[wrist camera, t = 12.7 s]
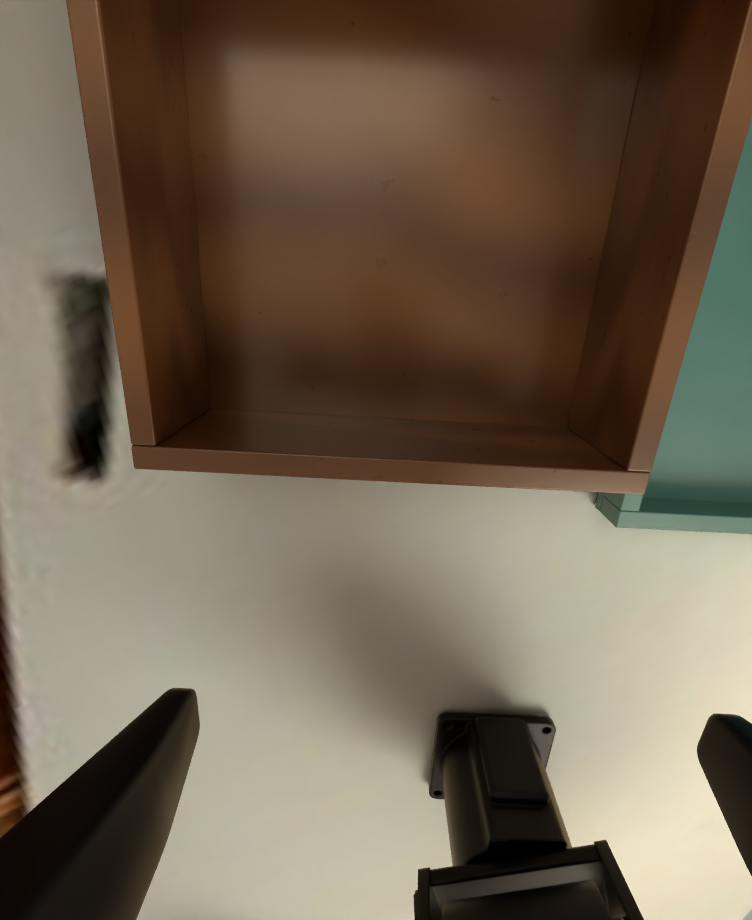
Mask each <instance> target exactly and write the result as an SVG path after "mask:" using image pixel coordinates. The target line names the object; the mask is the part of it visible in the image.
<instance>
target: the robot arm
mask: <svg viewBox="0 0 752 920" xmlns="http://www.w3.org/2000/svg"><path fill="white" fill-rule="evenodd" d="M446 722H447V723H446ZM199 728H200V721H199V713H198V704H197V696H196V692H195V691H194V690H193V689H187V688H172V689H169V690H168V691H166V692H165V693H164V694H163V695H162V696H161V697H159V698H158V699H157V700H156V701H155V702H154V703H153V704H152V705H150V706H149V707H148V708H147V709H146V710H145V711H144V712H142V713H141V714H140V715H139V716H138V717H137V718H136V719H135V720H133V721H132V722H131V723H130V724H129V725H128V726H127V727H125V728H124V729H123V730H122V731H121V732H120V733H119V734H118V735H116V736H115V737H114V738H113V739H112V740H111V741H110V742H109V743H107V744H106V745H105V746H104V747H103V748H102V749H101V750H99V751H98V752H97V753H96V754H95V755H94V756H93V757H92V758H90V759H89V760H88V761H87V762H86V763H85V764H84V765H82V766H81V767H80V768H79V769H78V770H77V771H76V772H75V773H73V774H72V775H71V776H70V777H69V778H68V779H67V780H66V781H64V782H63V783H62V784H61V785H60V786H59V787H58V788H56V789H55V790H54V791H53V792H52V793H51V794H50V795H49V796H47V797H46V798H45V799H44V800H43V801H42V802H41V803H39V804H38V805H37V806H36V807H35V808H34V809H33V810H32V811H30V812H29V813H28V814H27V815H26V816H25V817H24V818H22V819H21V820H20V821H19V822H18V823H17V824H16V825H15V826H13V827H12V828H11V829H10V830H9V831H8V832H7V833H6V834H4V835H3V836H2V837H1V838H0V920H136V919H137V916H138V914H139V911H140V909H141V906H142V904H143V901H144V899H145V896H146V893H147V891H148V888H149V886H150V883H151V881H152V878H153V876H154V873H155V871H156V868H157V866H158V863H159V861H160V858H161V855H162V853H163V850H164V847H165V845H166V842H167V839H168V836H169V833H170V830H171V826H172V823H173V820H174V816H175V813H176V810H177V806H178V803H179V800H180V796H181V793H182V789H183V786H184V783H185V779H186V776H187V773H188V769H189V766H190V762H191V759H192V756H193V752H194V749H195V746H196V742H197V739H198V734H199ZM555 732H556V728H555V725H554V723H553V721H552V719H550V718H547V717H529V716H508V715H487V714H467V713H443V714H441V715H439V716H438V719H437V727H436V734H435V742H434V749H433V757H432V764H431V772H430V779H429V794H430V796H431V797H432V798H435V799H445V807H446V815H447V823H448V831H449V839H450V847H451V855H452V863H453V866H452V867H446V868H439V869H433V870H430V867H429V868H423V869H418V890H415V894H414V913H415V920H644V919H643V917H642V915H641V913H640V911H639V909H638V906H637V904H636V902H635V900H634V898H633V896H632V894H631V892H630V890H629V887H628V885H627V883H626V881H625V879H624V877H623V875H622V873H621V871H620V868H619V866H618V864H617V862H616V860H615V858H614V856H613V854H612V852H611V849H610V847H609V845H608V843H607V841H606V840H602V841H595V842H594V844H593V845H587V846H581V847H574V848H572V846H571V843H570V840H569V837H568V834H567V831H566V828H565V825H564V822H563V819H562V817H561V814H560V811H559V808H558V805H557V802H556V799H555V796H554V793H553V790H552V787H551V784H550V782H549V779H548V776H547V773H546V766H547V762H548V758H549V755H550V751H551V747H552V743H553V739H554V735H555ZM697 754H698V759H699V762H700V764H701V767H702V769H703V771H704V773H705V776H706V778H707V780H708V782H709V784H710V787H711V789H712V791H713V793H714V796H715V798H716V800H717V802H718V805H719V807H720V809H721V811H722V813H723V816H724V818H725V820H726V822H727V825H728V827H729V829H730V831H731V834H732V836H733V838H734V840H735V842H736V845H737V847H738V849H739V851H740V853H741V855H742V858H743V860H744V862H745V864H746V866H747V868H748V870H749V872H750V874H751V876H752V724H751V723H750V722H748V721H747V720H745V719H744V718H742V717H740V716H738V715H733V714H713V715H711V716H710V717H709V719H708V721H707V723H706V726H705V728H704V731H703V733H702V735H701V738H700V740H699V743H698V746H697Z"/></svg>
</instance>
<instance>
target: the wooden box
mask: <svg viewBox="0 0 752 920" xmlns="http://www.w3.org/2000/svg"><path fill="white" fill-rule="evenodd" d="M66 1H67V8H68V15H69V22H70V28H71V35H72V42H73V49H74V56H75V62H76V69H77V76H78V83H79V90H80V96H81V103H82V110H83V117H84V124H85V131H86V137H87V144H88V151H89V158H90V165H91V171H92V178H93V185H94V192H95V199H96V206H97V212H98V219H99V226H100V233H101V240H102V246H103V253H104V260H105V267H106V274H107V280H108V287H109V294H110V301H111V308H112V315H113V321H114V328H115V335H116V342H117V349H118V355H119V362H120V369H121V376H122V383H123V389H124V396H125V403H126V410H127V417H128V424H129V430H130V437H131V443H132V444H133V445H132V454H133V461H134V467H135V468H136V469H153V470H173V471H192V472H212V473H231V474H251V475H271V476H290V477H310V478H329V479H349V480H368V481H388V482H408V483H427V484H447V485H466V486H486V487H505V488H525V489H544V490H564V491H584V492H603V493H623V494H642V495H644V494H645V491H646V488H647V484H648V481H649V477H650V472H651V470H652V467H653V463H654V460H655V456H656V453H657V449H658V446H659V442H660V439H661V435H662V432H663V428H664V425H665V421H666V418H667V414H668V411H669V407H670V403H671V400H672V396H673V393H674V389H675V386H676V382H677V379H678V375H679V372H680V368H681V365H682V361H683V358H684V354H685V351H686V347H687V344H688V340H689V337H690V333H691V330H692V326H693V323H694V319H695V316H696V312H697V308H698V305H699V301H700V298H701V294H702V291H703V287H704V284H705V280H706V277H707V273H708V270H709V266H710V263H711V259H712V256H713V252H714V249H715V245H716V242H717V238H718V235H719V231H720V228H721V224H722V220H723V217H724V213H725V210H726V206H727V203H728V199H729V196H730V192H731V189H732V185H733V182H734V178H735V175H736V171H737V168H738V164H739V161H740V157H741V154H742V150H743V147H744V143H745V140H746V136H747V133H748V129H749V125H750V122H751V118H752V0H66Z"/></svg>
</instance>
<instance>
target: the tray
mask: <svg viewBox="0 0 752 920" xmlns="http://www.w3.org/2000/svg"><path fill="white" fill-rule="evenodd" d="M595 507H596V508H597V509H598V510H599V511H600V512H601V513H602V514H603V515H604V516H605V517H606V518H607V519H608V520H609V521H610V522H611V523H612V524H613V525H614V526H615V527H621V528H641V529H661V530H680V531H700V532H720V533H740V534H752V118H751V122H750V125H749V129H748V133H747V136H746V140H745V143H744V147H743V150H742V154H741V157H740V161H739V164H738V168H737V171H736V175H735V178H734V182H733V185H732V189H731V192H730V196H729V199H728V203H727V206H726V210H725V213H724V217H723V220H722V224H721V228H720V231H719V235H718V238H717V242H716V245H715V249H714V252H713V256H712V259H711V263H710V266H709V270H708V273H707V277H706V280H705V284H704V287H703V291H702V294H701V298H700V301H699V305H698V308H697V312H696V316H695V319H694V323H693V326H692V330H691V333H690V337H689V340H688V344H687V347H686V351H685V354H684V358H683V361H682V365H681V368H680V372H679V375H678V379H677V382H676V386H675V389H674V393H673V396H672V400H671V403H670V407H669V411H668V414H667V418H666V421H665V425H664V428H663V432H662V435H661V439H660V442H659V446H658V449H657V453H656V456H655V460H654V463H653V467H652V470H651V472H650V477H649V481H648V484H647V488H646V491H645V494H644V495H642V494H623V493H603V492H598V496H597V500H596V504H595Z"/></svg>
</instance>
